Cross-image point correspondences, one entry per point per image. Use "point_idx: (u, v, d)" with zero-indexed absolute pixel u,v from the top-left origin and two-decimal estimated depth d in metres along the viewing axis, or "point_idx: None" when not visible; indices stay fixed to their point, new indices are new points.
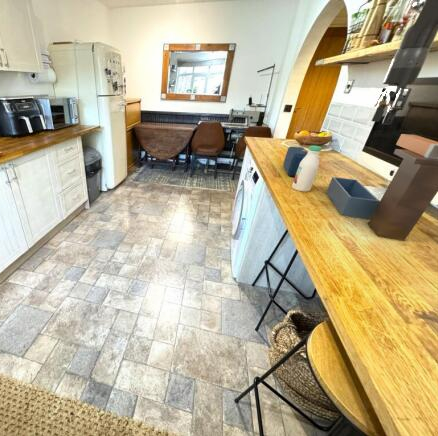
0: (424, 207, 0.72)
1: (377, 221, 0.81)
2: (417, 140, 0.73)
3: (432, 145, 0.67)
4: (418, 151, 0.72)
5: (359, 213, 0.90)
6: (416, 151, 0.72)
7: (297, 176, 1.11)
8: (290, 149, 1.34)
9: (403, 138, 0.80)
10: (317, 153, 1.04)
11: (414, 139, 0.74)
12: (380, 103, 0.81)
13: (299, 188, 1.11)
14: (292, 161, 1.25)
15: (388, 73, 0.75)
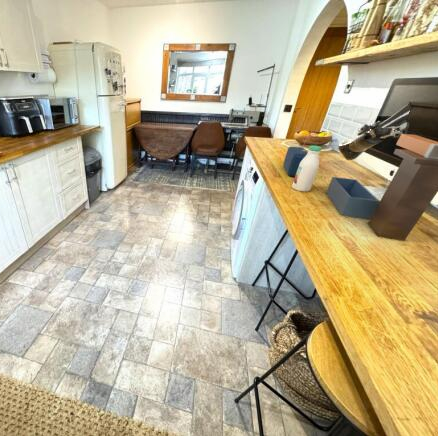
0: (424, 207, 0.72)
1: (377, 221, 0.81)
2: (417, 140, 0.73)
3: (432, 145, 0.67)
4: (418, 151, 0.72)
5: (359, 213, 0.90)
6: (416, 151, 0.72)
7: (297, 176, 1.11)
8: (290, 149, 1.34)
9: (403, 138, 0.80)
10: (317, 153, 1.04)
11: (414, 139, 0.74)
12: (392, 133, 0.95)
13: (299, 188, 1.11)
14: (292, 161, 1.25)
15: (367, 145, 1.05)
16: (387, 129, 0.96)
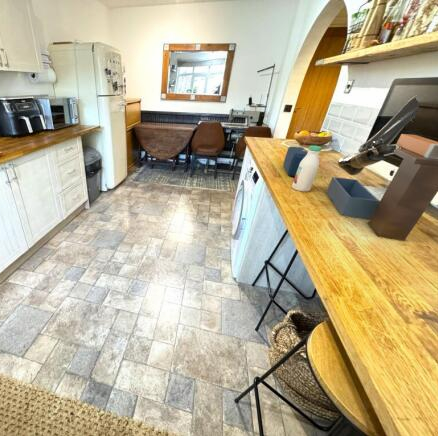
0: (424, 207, 0.72)
1: (377, 221, 0.81)
2: (417, 140, 0.73)
3: (432, 145, 0.67)
4: (418, 151, 0.72)
5: (359, 213, 0.90)
6: (416, 151, 0.72)
7: (297, 176, 1.11)
8: (290, 149, 1.34)
9: (403, 138, 0.80)
10: (317, 153, 1.04)
11: (414, 139, 0.74)
12: None
13: (299, 188, 1.11)
14: (292, 161, 1.25)
15: (370, 162, 0.99)
16: (391, 147, 0.90)
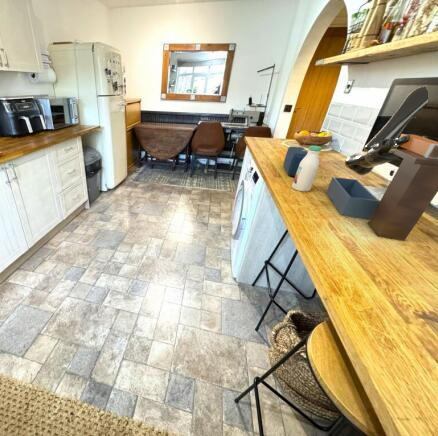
0: (424, 207, 0.72)
1: (377, 221, 0.81)
2: (417, 140, 0.73)
3: (432, 145, 0.67)
4: (418, 151, 0.72)
5: (359, 213, 0.90)
6: (416, 151, 0.72)
7: (297, 176, 1.11)
8: (290, 149, 1.34)
9: None
10: (317, 153, 1.04)
11: (414, 139, 0.74)
12: None
13: (299, 188, 1.11)
14: (292, 161, 1.25)
15: (381, 161, 0.91)
16: None
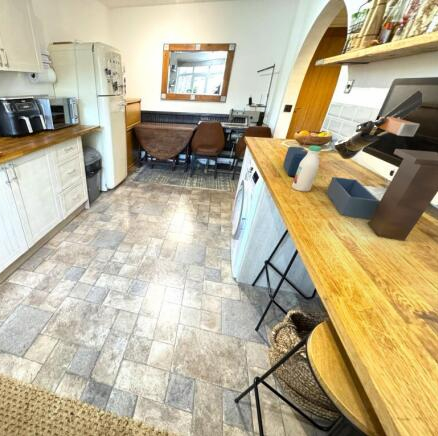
0: (424, 207, 0.72)
1: (377, 221, 0.81)
2: (392, 121, 0.82)
3: (403, 124, 0.76)
4: (392, 130, 0.80)
5: (359, 213, 0.90)
6: (391, 130, 0.81)
7: (297, 176, 1.11)
8: (290, 149, 1.34)
9: None
10: (317, 153, 1.04)
11: (390, 120, 0.83)
12: (385, 130, 0.90)
13: (299, 188, 1.11)
14: (292, 161, 1.25)
15: (364, 143, 1.00)
16: None
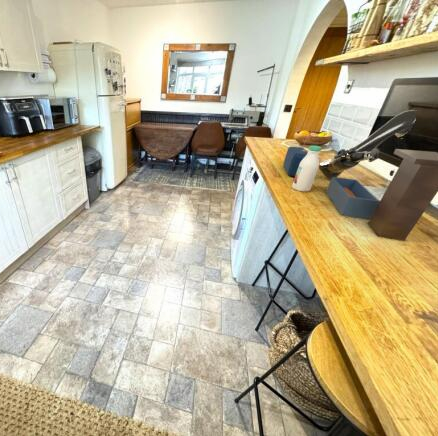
0: (424, 207, 0.72)
1: (377, 221, 0.81)
2: None
3: None
4: None
5: (359, 213, 0.90)
6: None
7: (297, 176, 1.11)
8: (290, 149, 1.34)
9: None
10: (317, 153, 1.04)
11: None
12: (364, 158, 0.98)
13: (299, 188, 1.11)
14: (292, 161, 1.25)
15: (344, 168, 1.07)
16: (360, 154, 0.98)
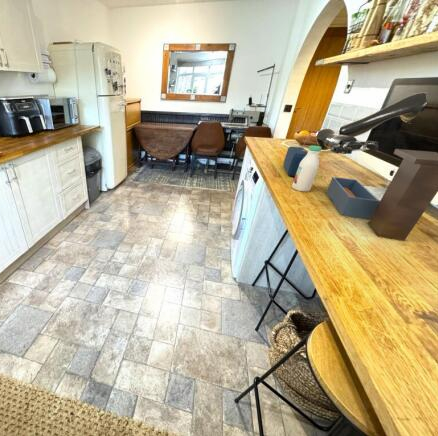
0: (424, 207, 0.72)
1: (377, 221, 0.81)
2: None
3: None
4: None
5: (359, 213, 0.90)
6: None
7: (297, 176, 1.11)
8: (290, 149, 1.34)
9: None
10: (317, 153, 1.04)
11: None
12: (363, 149, 0.98)
13: (299, 188, 1.11)
14: (292, 161, 1.25)
15: None
16: (358, 145, 0.98)
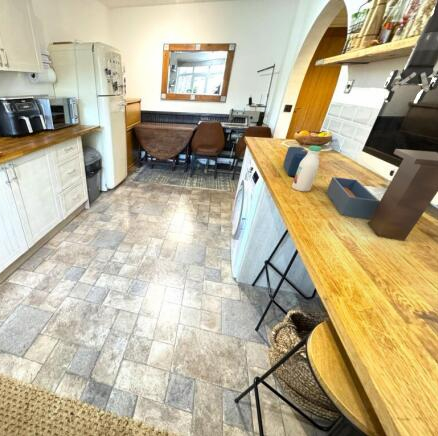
0: (424, 207, 0.72)
1: (377, 221, 0.81)
2: None
3: None
4: None
5: (359, 213, 0.90)
6: None
7: (297, 176, 1.11)
8: (290, 149, 1.34)
9: None
10: (317, 153, 1.04)
11: None
12: (418, 85, 0.86)
13: (299, 188, 1.11)
14: (292, 161, 1.25)
15: None
16: (416, 83, 0.85)
